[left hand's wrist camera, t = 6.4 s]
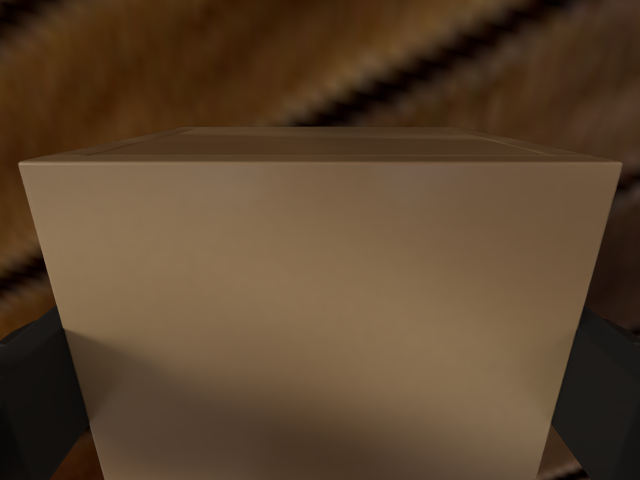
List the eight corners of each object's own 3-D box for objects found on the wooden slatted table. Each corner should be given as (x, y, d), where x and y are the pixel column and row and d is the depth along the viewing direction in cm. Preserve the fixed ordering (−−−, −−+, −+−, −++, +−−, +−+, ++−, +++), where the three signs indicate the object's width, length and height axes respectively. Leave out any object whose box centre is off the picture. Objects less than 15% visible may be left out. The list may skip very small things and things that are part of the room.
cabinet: (420, 431, 21) (488, 656, 13) (219, 431, 21) (152, 655, 13) (458, 126, 15) (625, 162, 7) (182, 126, 15) (15, 161, 7)
